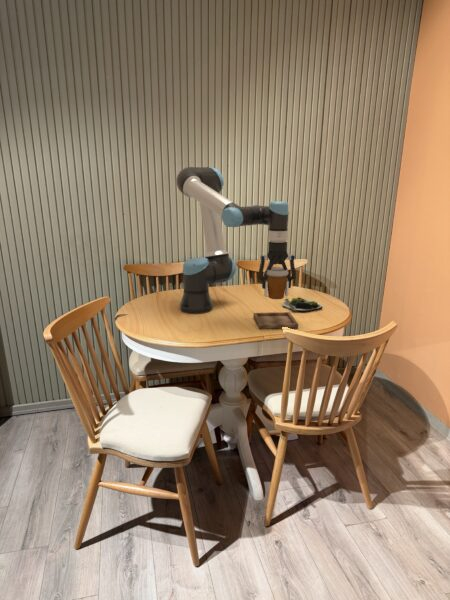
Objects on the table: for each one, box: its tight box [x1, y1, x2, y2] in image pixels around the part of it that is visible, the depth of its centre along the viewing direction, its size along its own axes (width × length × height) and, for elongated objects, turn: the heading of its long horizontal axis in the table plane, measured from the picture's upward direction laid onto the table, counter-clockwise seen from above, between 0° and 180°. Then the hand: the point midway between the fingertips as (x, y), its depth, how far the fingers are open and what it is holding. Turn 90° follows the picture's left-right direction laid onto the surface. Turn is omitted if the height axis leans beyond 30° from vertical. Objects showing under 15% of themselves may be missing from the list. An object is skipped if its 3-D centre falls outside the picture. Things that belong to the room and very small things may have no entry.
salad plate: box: [281, 296, 323, 314], centre depth 198 cm, size 19×18×5 cm
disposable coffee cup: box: [264, 266, 290, 300], centre depth 171 cm, size 10×10×12 cm
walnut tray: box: [253, 311, 299, 330], centre depth 176 cm, size 16×16×2 cm
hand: (276, 295), depth 173 cm, fingers closed on disposable coffee cup, 8 cm apart
